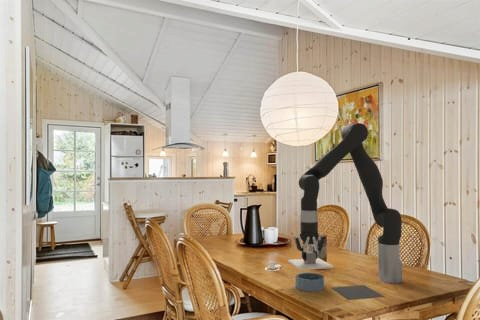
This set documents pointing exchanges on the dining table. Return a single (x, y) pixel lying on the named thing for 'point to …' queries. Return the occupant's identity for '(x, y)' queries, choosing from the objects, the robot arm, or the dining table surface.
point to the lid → (310, 262)
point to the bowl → (310, 281)
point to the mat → (356, 292)
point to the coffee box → (323, 252)
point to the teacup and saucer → (273, 266)
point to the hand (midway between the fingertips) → (309, 259)
